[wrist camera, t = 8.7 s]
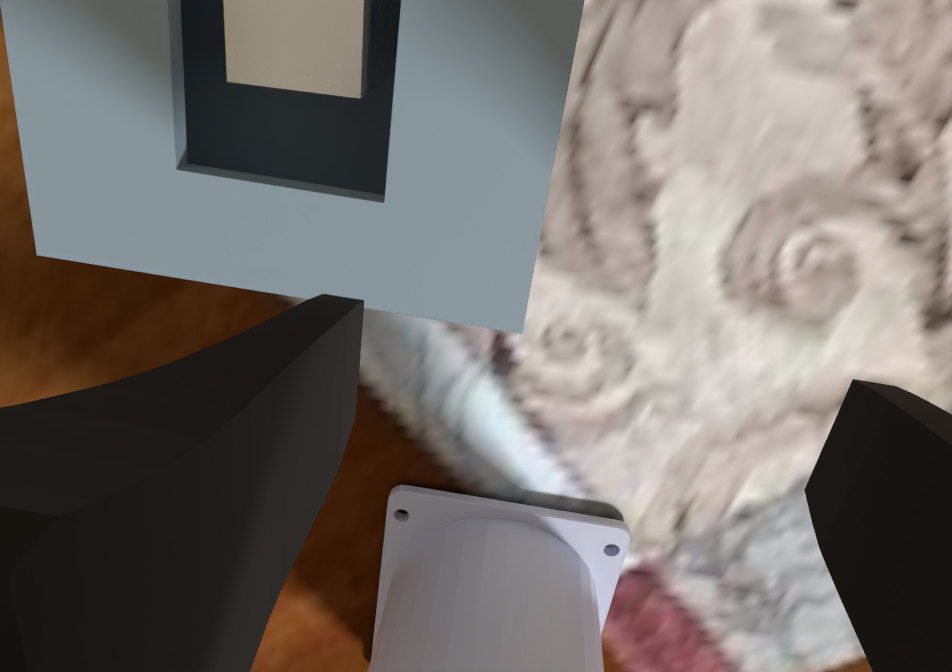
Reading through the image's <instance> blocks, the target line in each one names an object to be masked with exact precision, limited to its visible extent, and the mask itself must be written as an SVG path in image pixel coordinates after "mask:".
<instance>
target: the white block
mask: <svg viewBox="0 0 952 672" xmlns="http://www.w3.org/2000/svg"><path fill="white" fill-rule="evenodd" d="M223 2H224V24H225V47H226V69H227V82H233V83H241V84H249V85H257V86H265V87H273V88H281V89H288V90H296V91H304V92H312V93H320V94H328V95H336V96H343V97H351V98H359V99H361V98H362V97H363V96H365V95H366V94H368V93H369V92H370V91H372V90H373V89H374V88H376V87H377V86H378V85H380V84H381V83H383V82H384V81H385V80H387V79H388V78H389V77H391V76H392V75H394V74H395V69H396V57H397V45H398V33H399V21H400V9H401V0H223Z"/></svg>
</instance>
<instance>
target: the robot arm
mask: <svg viewBox="0 0 952 672" xmlns="http://www.w3.org/2000/svg"><path fill="white" fill-rule="evenodd" d="M363 311H364V300H360V299H354V298H348V297H341V296H335V295H329V294H321V295H318V296H316V297H313V298H311V299H309V300H307V301H305V302H303V303H301V304H299V305H297V306H295V307H293V308H291V309H289V310H287V311H285V312H283V313H281V314H279V315H277V316H275V317H273V318H271V319H269V320H267V321H265V322H263V323H261V324H258V325H256V326H254V327H252V328H250V329H248V330H246V331H244V332H242V333H240V334H238V335H236V336H233V337H231V338H229V339H226V340H224V341H222V342H219V343H217V344H215V345H212V346H210V347H208V348H205V349H203V350H201V351H198V352H196V353H194V354H191V355H189V356H187V357H184V358H182V359H179V360H177V361H174V362H171V363H169V364H166V365H163V366H160V367H157V368H155V369H152V370H149V371H146V372H142V373H139V374H136V375H133V376H130V377H126V378H123V379H120V380H117V381H114V382H110V383H107V384H103V385H100V386H95V387H91V388H87V389H83V390H79V391H74V392H70V393H66V394H62V395H57V396H53V397H49V398H45V399H40V400H36V401H32V402H28V403H23V404H18V405H13V406H8V407H2V408H0V672H250V670H251V668H252V665H253V662H254V659H255V656H256V654H257V651H258V648H259V645H260V642H261V639H262V637H263V634H264V631H265V628H266V625H267V623H268V620H269V617H270V615H271V613H272V610H273V608H274V606H275V603H276V601H277V599H278V596H279V594H280V592H281V589H282V587H283V585H284V583H285V581H286V579H287V577H288V575H289V573H290V571H291V569H292V567H293V565H294V562H295V560H296V558H297V556H298V554H299V552H300V550H301V548H302V546H303V544H304V542H305V540H306V538H307V536H308V533H309V531H310V529H311V527H312V525H313V523H314V521H315V519H316V517H317V515H318V513H319V511H320V509H321V506H322V504H323V502H324V500H325V498H326V496H327V494H328V492H329V490H330V487H331V485H332V483H333V481H334V479H335V477H336V475H337V472H338V470H339V467H340V464H341V461H342V458H343V455H344V452H345V449H346V446H347V443H348V440H349V436H350V433H351V430H352V427H353V423H354V420H355V417H356V405H357V391H358V378H359V364H360V351H361V338H362V324H363ZM805 494H806V498H807V502H808V507H809V511H810V515H811V519H812V523H813V527H814V530H815V534H816V538H817V541H818V545H819V548H820V551H821V553H822V556H823V558H824V561H825V563H826V566H827V568H828V570H829V573H830V575H831V577H832V580H833V582H834V584H835V587H836V589H837V591H838V594H839V596H840V598H841V601H842V603H843V605H844V607H845V610H846V612H847V614H848V617H849V619H850V621H851V623H852V626H853V628H854V630H855V632H856V635H857V637H858V639H859V641H860V644H861V646H862V648H863V650H864V653H865V655H866V657H867V660H868V662H869V664H870V666H871V669H872V671H873V672H952V415H951V414H950V413H948V412H946V411H944V410H943V409H941V408H939V407H937V406H935V405H934V404H932V403H930V402H928V401H926V400H924V399H922V398H920V397H919V396H916V395H914V394H912V393H910V392H908V391H906V390H903V389H901V388H899V387H896V386H892V385H885V384H879V383H873V382H867V381H861V380H854V379H853V380H852V383H851V385H850V387H849V389H848V392H847V394H846V396H845V399H844V401H843V403H842V405H841V408H840V410H839V412H838V415H837V417H836V419H835V422H834V424H833V426H832V428H831V431H830V433H829V435H828V438H827V440H826V442H825V444H824V447H823V449H822V451H821V454H820V456H819V458H818V460H817V463H816V465H815V467H814V470H813V472H812V474H811V476H810V479H809V481H808V483H807V486H806V488H805ZM398 509H403V510H405V511H407V512H408V513H407V514H402V513H399V512H398V511H397V510H398ZM629 542H630V530H629V528H628V526H627V524H625V523H624V522H622V521H619V520H615V519H609V518H603V517H597V516H591V515H585V514H579V513H573V512H567V511H561V510H555V509H549V508H542V507H536V506H530V505H524V504H518V503H512V502H506V501H500V500H494V499H488V498H482V497H476V496H470V495H464V494H458V493H451V492H445V491H439V490H433V489H427V488H421V487H415V486H409V485H399V486H396V487H394V488H393V489H392V490H391V492H390V495H389V499H388V505H387V515H386V524H385V533H384V543H383V552H382V562H381V571H380V581H379V590H378V600H377V609H376V619H375V628H374V637H373V647H372V656H371V661H370V665H369V669H368V672H604V669H603V657H602V645H601V633H602V630H603V627H604V623H605V620H606V617H607V614H608V610H609V607H610V604H611V601H612V597H613V594H614V591H615V588H616V584H617V581H618V578H619V575H620V571H621V568H622V565H623V562H624V558H625V555H626V552H627V549H628V546H629ZM609 544H614V545H617V546H616V547H614V548H608V547H605V546H607V545H609Z"/></svg>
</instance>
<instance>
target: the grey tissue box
mask: <svg viewBox="0 0 952 672" xmlns="http://www.w3.org/2000/svg"><path fill="white" fill-rule="evenodd" d="M583 5H584V0H401V9H400V21H399V33H398V45H397V57H396V69H395V74H394V75H392V76H391V77H389V78H388V79H387V80H385V81H384V82H383V83H381V84H380V85H378V86H377V87H376V88H374V89H373V90H372V91H370V92H369V93H368V94H366V95H365V96H363V97H362V98H361V99H359V98H351V97H343V96H336V95H328V94H320V93H312V92H304V91H296V90H288V89H281V88H273V87H265V86H257V85H249V84H241V83H233V82H227V69H226V47H225V24H224V2H223V0H0V6H1V12H2V19H3V26H4V33H5V40H6V47H7V54H8V61H9V67H10V74H11V81H12V88H13V95H14V102H15V109H16V116H17V122H18V129H19V136H20V143H21V150H22V157H23V164H24V171H25V177H26V184H27V191H28V198H29V205H30V212H31V219H32V226H33V232H34V239H35V246H36V253H37V255H39V256H45V257H51V258H57V259H64V260H70V261H76V262H82V263H88V264H95V265H101V266H107V267H113V268H119V269H125V270H132V271H138V272H144V273H150V274H156V275H162V276H169V277H175V278H181V279H187V280H193V281H200V282H206V283H212V284H218V285H224V286H230V287H237V288H243V289H249V290H255V291H261V292H268V293H274V294H280V295H286V296H292V297H298V298H305V299H311V298H313V297H316V296H318V295H321V294H329V295H335V296H341V297H348V298H354V299H360V300H364V308H366V309H373V310H379V311H385V312H391V313H397V314H403V315H410V316H416V317H422V318H428V319H434V320H440V321H447V322H453V323H459V324H465V325H471V326H478V327H484V328H490V329H496V330H502V331H508V332H515V333H521V334H522V330H523V325H524V319H525V314H526V309H527V303H528V298H529V293H530V287H531V282H532V277H533V271H534V266H535V261H536V255H537V250H538V245H539V239H540V234H541V229H542V223H543V218H544V213H545V207H546V202H547V197H548V191H549V186H550V181H551V175H552V170H553V165H554V159H555V154H556V149H557V143H558V138H559V133H560V127H561V122H562V117H563V111H564V106H565V101H566V95H567V90H568V85H569V79H570V74H571V69H572V63H573V58H574V53H575V47H576V42H577V37H578V31H579V26H580V21H581V15H582V10H583Z"/></svg>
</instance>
